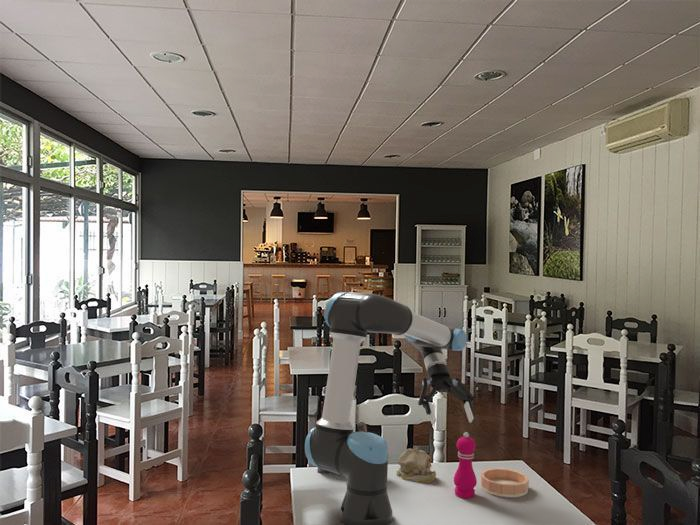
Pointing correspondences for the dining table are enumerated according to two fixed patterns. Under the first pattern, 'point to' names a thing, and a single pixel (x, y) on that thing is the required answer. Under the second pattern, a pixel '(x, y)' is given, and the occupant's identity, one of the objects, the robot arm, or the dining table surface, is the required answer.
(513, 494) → the terracotta bowl
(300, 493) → the dining table surface
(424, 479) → the ceramic model
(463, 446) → the pepper mill
